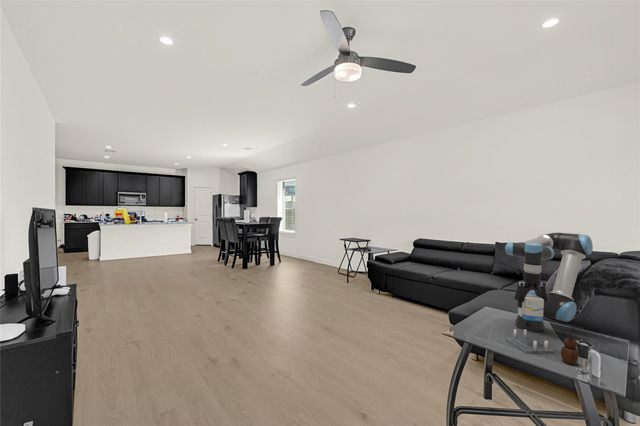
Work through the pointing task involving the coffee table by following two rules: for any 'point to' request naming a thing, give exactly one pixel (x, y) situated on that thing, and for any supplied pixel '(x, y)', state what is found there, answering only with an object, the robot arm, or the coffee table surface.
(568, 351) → the wooden figurine
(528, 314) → the ink box
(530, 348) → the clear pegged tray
